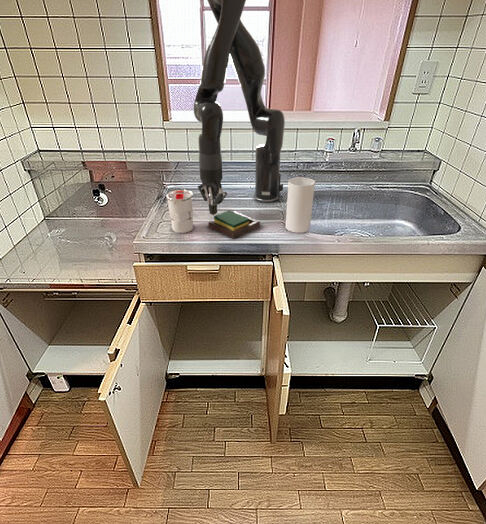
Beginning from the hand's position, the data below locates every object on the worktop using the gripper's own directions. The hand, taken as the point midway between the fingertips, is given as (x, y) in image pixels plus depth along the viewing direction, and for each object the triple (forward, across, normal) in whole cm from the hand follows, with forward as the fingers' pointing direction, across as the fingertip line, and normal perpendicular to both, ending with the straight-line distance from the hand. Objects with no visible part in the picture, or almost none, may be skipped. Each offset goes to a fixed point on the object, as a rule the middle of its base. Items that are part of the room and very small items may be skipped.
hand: (213, 213), depth 126 cm
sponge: (+1, -10, +1) cm, 10 cm away
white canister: (+2, +1, +13) cm, 13 cm away
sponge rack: (+1, -10, 0) cm, 10 cm away
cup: (+2, -26, -14) cm, 30 cm away
